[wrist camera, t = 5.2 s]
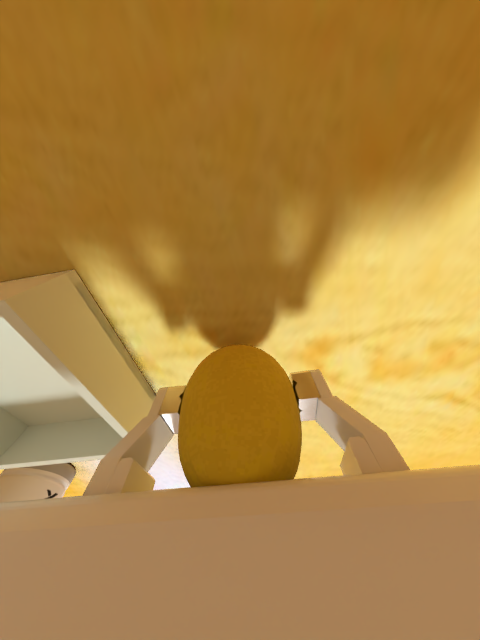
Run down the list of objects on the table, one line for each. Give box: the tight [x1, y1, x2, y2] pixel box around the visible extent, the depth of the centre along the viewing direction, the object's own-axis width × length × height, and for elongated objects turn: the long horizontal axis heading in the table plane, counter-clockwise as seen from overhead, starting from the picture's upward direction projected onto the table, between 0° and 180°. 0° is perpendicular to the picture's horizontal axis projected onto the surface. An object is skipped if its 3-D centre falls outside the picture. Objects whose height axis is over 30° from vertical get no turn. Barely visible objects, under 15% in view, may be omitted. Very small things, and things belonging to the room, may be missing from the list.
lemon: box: [178, 344, 302, 487], centre depth 9 cm, size 6×6×8 cm
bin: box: [0, 269, 156, 469], centre depth 12 cm, size 12×12×3 cm
